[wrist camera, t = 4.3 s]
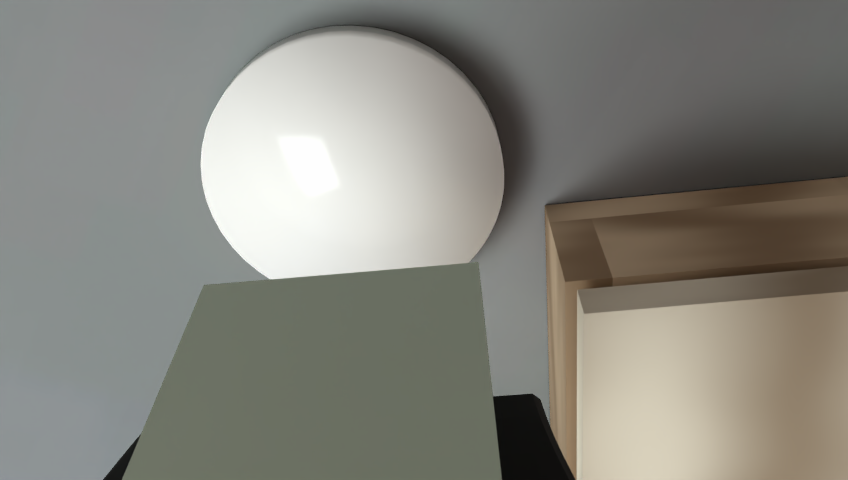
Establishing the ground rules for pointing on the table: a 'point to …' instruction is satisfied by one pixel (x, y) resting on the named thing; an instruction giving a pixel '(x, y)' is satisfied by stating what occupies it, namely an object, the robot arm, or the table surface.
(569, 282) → the pencil box
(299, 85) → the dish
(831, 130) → the table surface
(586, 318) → the lid
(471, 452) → the green block
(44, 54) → the table surface
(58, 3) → the table surface
